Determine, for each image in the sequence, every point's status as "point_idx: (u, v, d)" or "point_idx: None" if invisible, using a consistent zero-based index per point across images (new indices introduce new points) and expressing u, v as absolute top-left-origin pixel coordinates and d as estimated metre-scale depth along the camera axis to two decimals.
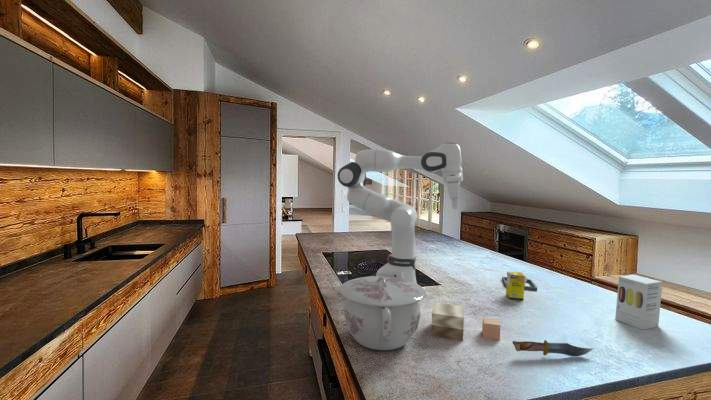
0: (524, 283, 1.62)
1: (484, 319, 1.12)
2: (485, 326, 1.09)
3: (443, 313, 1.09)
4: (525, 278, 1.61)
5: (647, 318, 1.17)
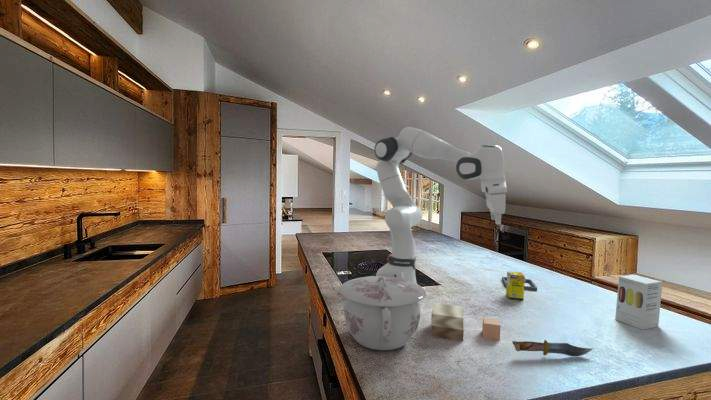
0: None
1: (484, 319, 1.12)
2: (485, 326, 1.09)
3: (442, 314, 1.09)
4: None
5: (647, 318, 1.17)
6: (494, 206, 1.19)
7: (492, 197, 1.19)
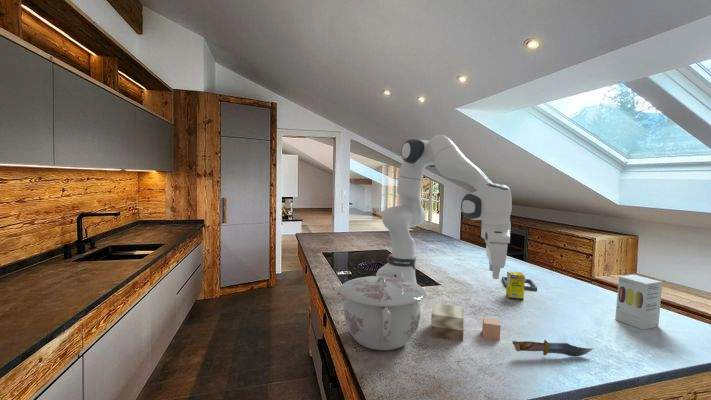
0: None
1: (484, 319, 1.12)
2: (485, 326, 1.09)
3: (442, 314, 1.08)
4: None
5: (647, 318, 1.17)
6: (492, 258, 1.00)
7: (491, 246, 1.00)
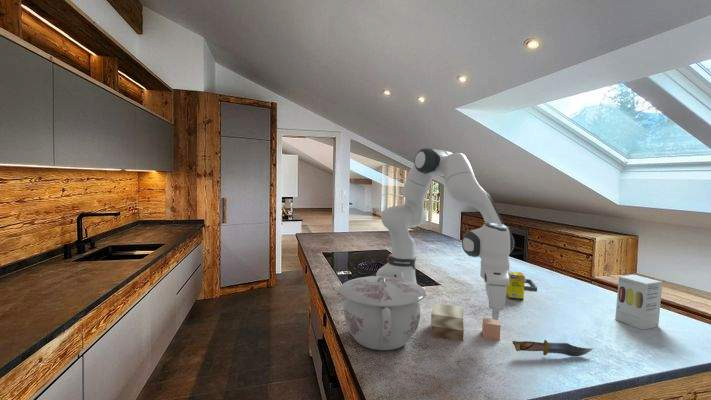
0: None
1: (484, 319, 1.12)
2: (485, 326, 1.09)
3: (442, 314, 1.08)
4: None
5: (647, 318, 1.17)
6: (492, 300, 1.00)
7: (491, 289, 1.01)
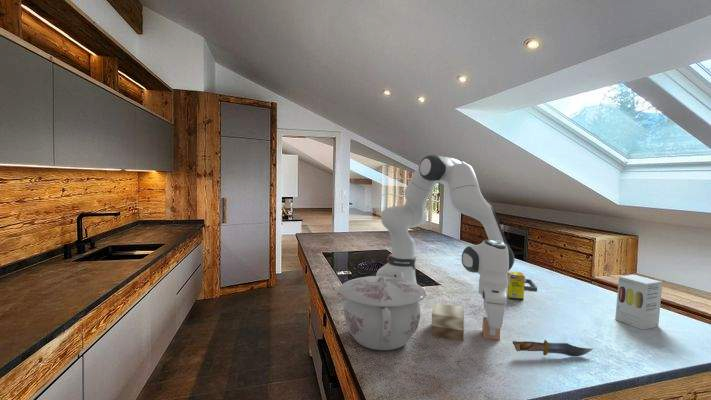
0: None
1: (484, 319, 1.12)
2: (485, 326, 1.09)
3: (443, 314, 1.08)
4: None
5: (647, 318, 1.17)
6: (489, 318, 1.01)
7: (488, 307, 1.02)
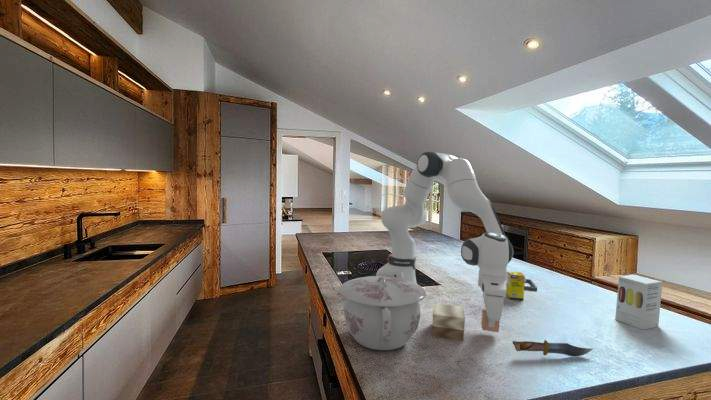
0: None
1: (483, 311, 1.12)
2: (484, 318, 1.09)
3: (443, 314, 1.08)
4: None
5: (647, 318, 1.17)
6: (488, 310, 1.01)
7: (488, 299, 1.02)
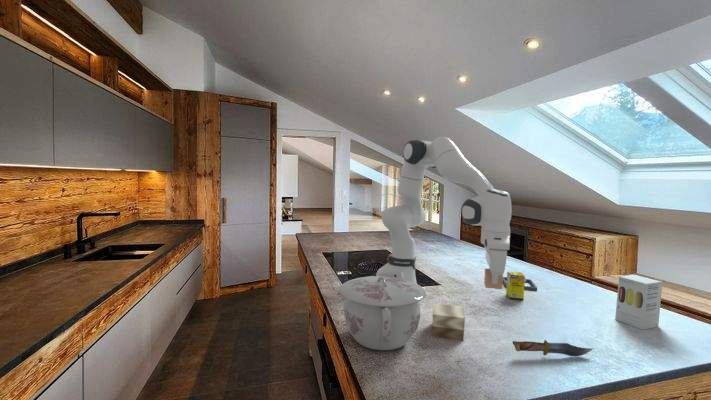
0: None
1: (486, 270, 1.10)
2: (487, 275, 1.07)
3: (443, 314, 1.08)
4: None
5: (647, 318, 1.17)
6: (492, 264, 1.00)
7: (491, 253, 1.00)
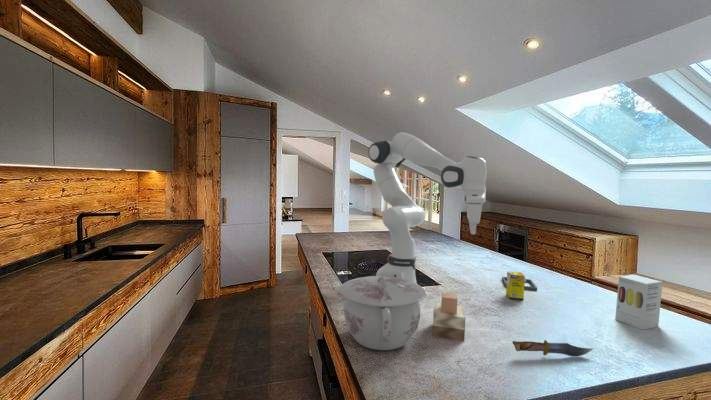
0: None
1: (443, 294, 1.13)
2: (443, 300, 1.10)
3: (444, 314, 1.08)
4: None
5: (647, 318, 1.17)
6: (469, 215, 1.22)
7: (469, 206, 1.22)
